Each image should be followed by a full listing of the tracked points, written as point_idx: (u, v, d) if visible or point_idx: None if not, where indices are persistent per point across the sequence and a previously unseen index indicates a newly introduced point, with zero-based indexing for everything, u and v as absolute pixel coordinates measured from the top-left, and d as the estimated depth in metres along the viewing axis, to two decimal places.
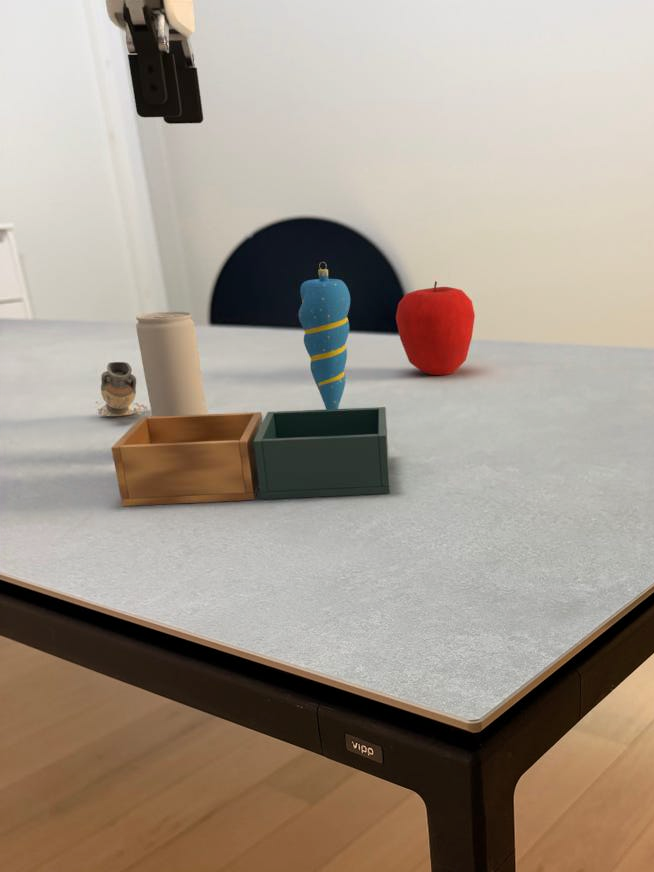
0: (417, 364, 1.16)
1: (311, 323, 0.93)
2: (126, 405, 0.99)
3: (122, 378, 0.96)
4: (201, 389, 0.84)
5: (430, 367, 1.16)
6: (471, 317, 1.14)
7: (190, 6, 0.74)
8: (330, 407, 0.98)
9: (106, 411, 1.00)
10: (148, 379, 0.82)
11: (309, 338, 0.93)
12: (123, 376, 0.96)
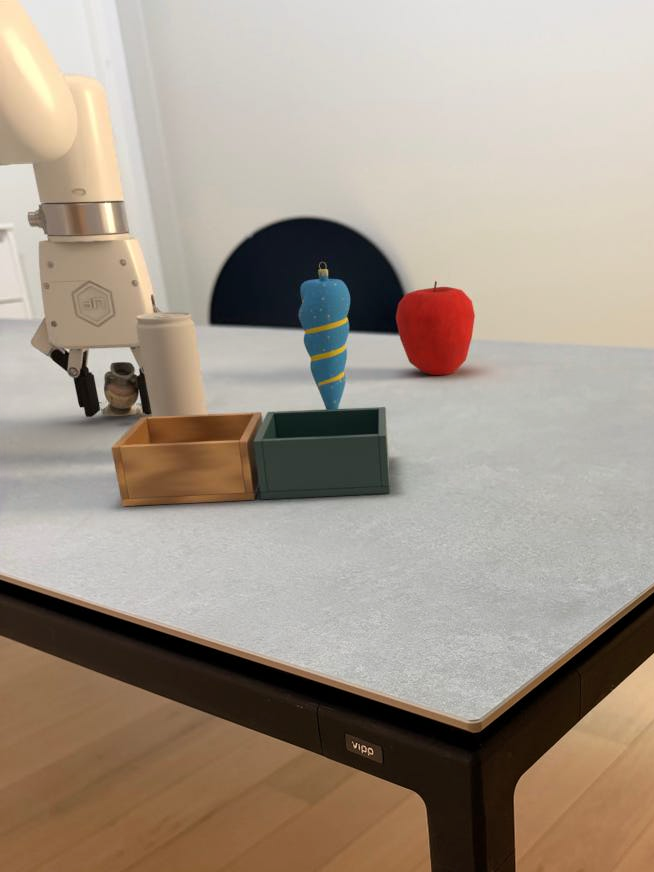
0: (417, 364, 1.16)
1: (311, 323, 0.93)
2: (129, 405, 0.99)
3: (125, 378, 0.96)
4: (201, 389, 0.84)
5: (430, 367, 1.16)
6: (471, 317, 1.14)
7: None
8: (330, 407, 0.98)
9: (109, 411, 1.00)
10: (148, 379, 0.82)
11: (309, 338, 0.93)
12: (126, 376, 0.96)
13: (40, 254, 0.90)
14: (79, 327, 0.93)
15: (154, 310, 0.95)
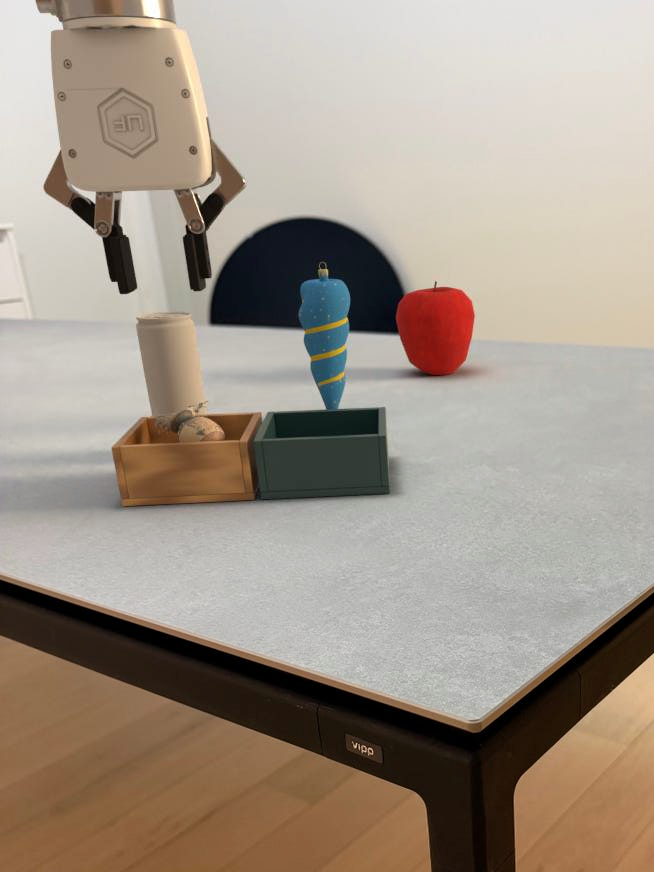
0: (417, 364, 1.16)
1: (311, 323, 0.93)
2: None
3: None
4: (201, 389, 0.84)
5: (430, 367, 1.16)
6: (471, 317, 1.14)
7: None
8: (330, 407, 0.98)
9: (167, 428, 0.76)
10: (148, 379, 0.82)
11: (309, 338, 0.93)
12: None
13: (53, 49, 0.64)
14: (108, 158, 0.67)
15: (210, 139, 0.69)
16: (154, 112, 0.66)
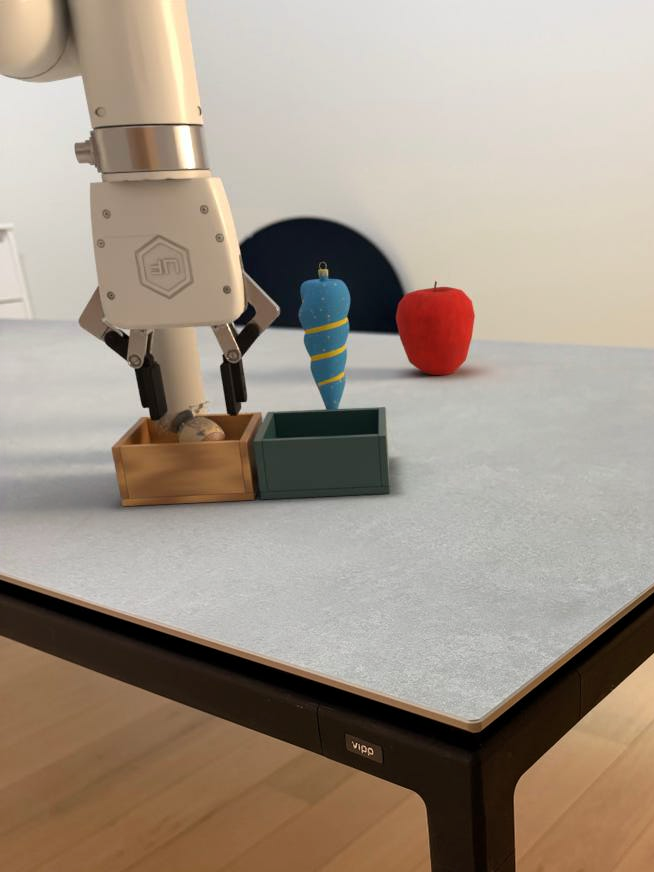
0: (417, 364, 1.16)
1: (311, 323, 0.93)
2: None
3: None
4: (201, 389, 0.84)
5: (430, 367, 1.16)
6: (471, 317, 1.14)
7: None
8: (330, 407, 0.98)
9: (167, 428, 0.76)
10: None
11: (309, 338, 0.93)
12: None
13: (92, 200, 0.66)
14: (145, 299, 0.69)
15: (243, 276, 0.71)
16: (189, 256, 0.68)
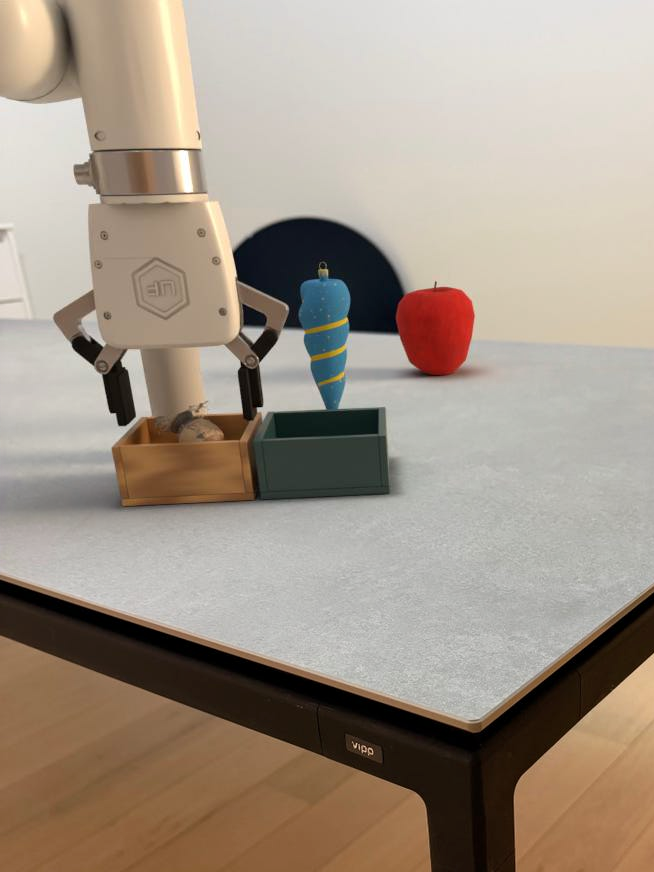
0: (417, 364, 1.16)
1: (311, 323, 0.93)
2: None
3: None
4: (201, 389, 0.84)
5: (430, 367, 1.16)
6: (471, 317, 1.14)
7: None
8: (330, 407, 0.98)
9: (167, 429, 0.76)
10: (148, 379, 0.82)
11: (309, 338, 0.93)
12: None
13: (90, 221, 0.67)
14: (141, 320, 0.69)
15: (239, 297, 0.71)
16: (186, 278, 0.68)
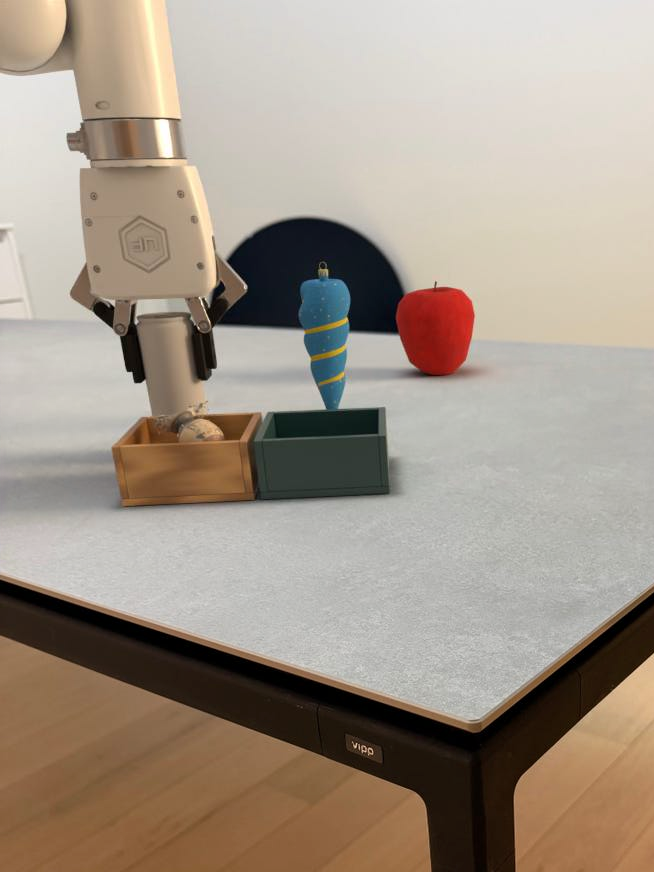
0: (417, 364, 1.16)
1: (311, 323, 0.93)
2: None
3: None
4: (201, 389, 0.84)
5: (430, 367, 1.16)
6: (471, 317, 1.14)
7: None
8: (330, 407, 0.98)
9: (167, 429, 0.76)
10: (148, 379, 0.82)
11: (309, 338, 0.93)
12: None
13: (81, 183, 0.75)
14: (127, 273, 0.77)
15: (215, 254, 0.79)
16: (167, 235, 0.77)
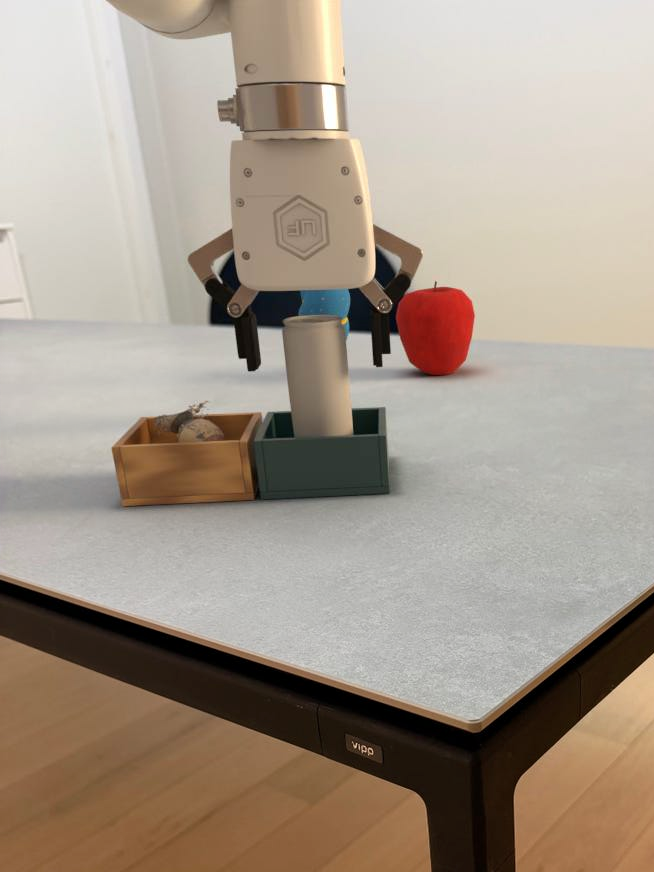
0: (417, 364, 1.16)
1: None
2: None
3: None
4: (349, 401, 0.76)
5: (430, 367, 1.16)
6: (471, 317, 1.14)
7: None
8: None
9: (167, 429, 0.76)
10: (293, 390, 0.74)
11: None
12: None
13: (234, 158, 0.66)
14: (279, 260, 0.68)
15: (375, 240, 0.70)
16: (327, 217, 0.68)
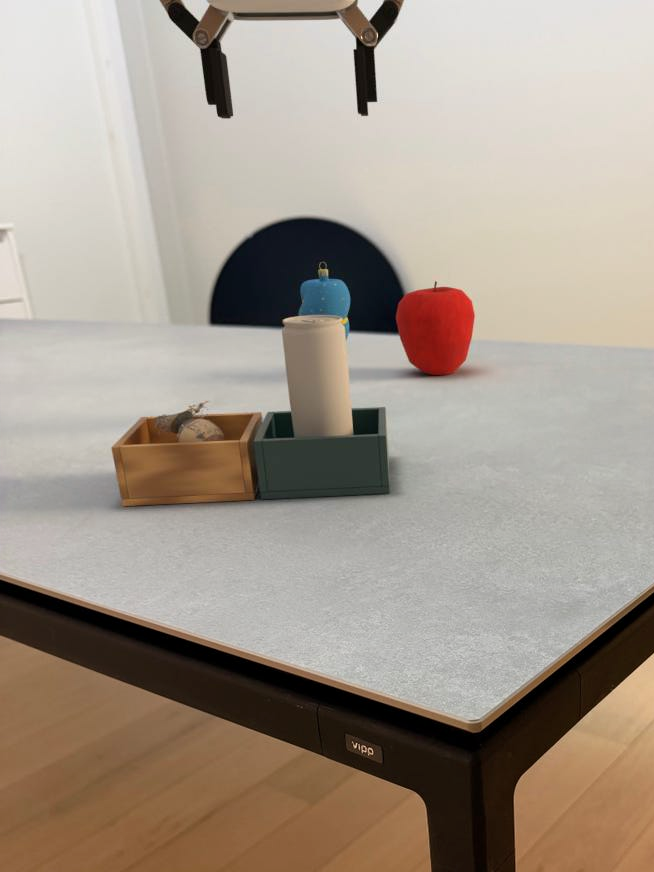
0: (417, 364, 1.16)
1: None
2: None
3: None
4: (349, 401, 0.76)
5: (430, 367, 1.16)
6: (471, 317, 1.14)
7: None
8: None
9: (167, 429, 0.76)
10: (293, 390, 0.74)
11: None
12: None
13: None
14: None
15: None
16: None
